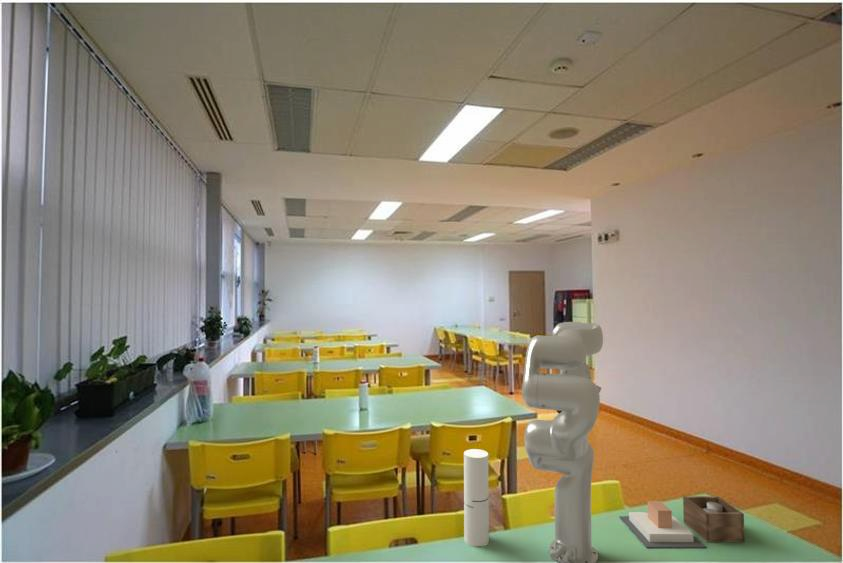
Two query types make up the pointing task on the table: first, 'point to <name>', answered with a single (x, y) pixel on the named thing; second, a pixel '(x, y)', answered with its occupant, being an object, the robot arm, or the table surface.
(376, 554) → the table surface
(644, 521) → the lid
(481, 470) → the cylindrical container
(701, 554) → the table surface
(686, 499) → the box
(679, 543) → the mat
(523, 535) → the table surface
